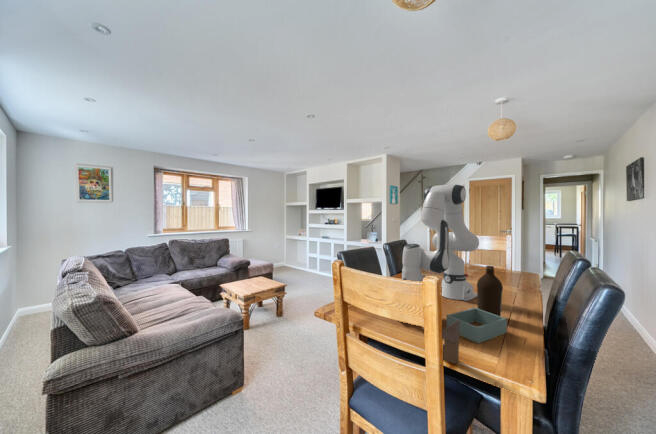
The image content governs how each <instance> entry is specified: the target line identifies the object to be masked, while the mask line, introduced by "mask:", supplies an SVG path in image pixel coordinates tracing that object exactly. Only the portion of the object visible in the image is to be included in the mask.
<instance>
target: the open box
mask: <svg viewBox="0 0 656 434" xmlns="http://www.w3.org/2000/svg"><path fill="white" fill-rule="evenodd" d="M458 320H459V336H461V337H464V338H465V339H468V340H470V341H472V342H474V343H476V344H481V343H483V342H486V341H490V340H491V339H494V338H497V337H499V336H502V335H504V334H506V333H507V332H508V331H507V329H508V325H507V324H508V318H506V317H503V316H498V315H495V314H492V313H489V312H486V311H483V310H480V309H478V307H472V308H467V309H464V310H461V311H457V312H454V313H449V314H447V315H446V327H448V326H450V325H451V324H453V323H455V322H456V321H458ZM474 322H476V323H478V324H481V325H479V326H477V325H474V324H471V323H474Z"/></svg>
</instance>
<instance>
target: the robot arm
mask: <svg viewBox="0 0 656 434" xmlns="http://www.w3.org/2000/svg"><path fill="white" fill-rule="evenodd" d="M466 198H467V191H466V188H465V187H464V186H463V185H461V184H440V185H429V186H428V187H426V188H425V189H424V191H423V205H422V208H421V212H420V220H421V222H422V223H423V225H424V226H426V227H428V229H431V230H433V231H435V233H434V234H433V236H432V244H433V246H434V247H435V248H436V250H435V251H432V250H428V249H423V248H422V247H421V245H420V244H418V243H407V244H406V245H404V247H403V250H402V258H401V259H402V261H401V262H402V269H401V279H403V280H411V281H420V282H421V281H422V279H423V277H425V276H427V275H425V274H422V270H426V271H430V272H432V273H436V274H442V277H443V278H442V279H441V286H440V287H442V295H441V296H442V297H444V298H447V299H451V300H459V301H465V302H469V301H471V300H473V299H475V298H477V292H476V293H475V292H474V286H473V285H472V283H470V282H469V281H468V280H467V278H469V276H470V275H469V274H468V273H465V261H464V260H463V258H462V257H461V256H458V255H457V254H456V252H455V251H457V252H475V251H476V250H477V249H478V248H479V245H480V241H479V240H480V239H479V238H478V237H477V235H476V234H474V233H473V232H471V231H470V229H468V227H467V226H466V224H465V220H464V213H463V211H464V210H463V205H462V204H463V203H464V202H465V201H466ZM449 230H451V232H450V231H449Z"/></svg>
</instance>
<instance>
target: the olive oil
mask: <svg viewBox="0 0 656 434" xmlns="http://www.w3.org/2000/svg"><path fill="white" fill-rule="evenodd" d="M494 268H495V266H494V265H486V268H485V274H483V275H482V276H481V277H479V279H478V280H477V283H476V291H477V292H476V294H477V297H476V298H477V308H478V309H480V310H483V311H486V312H489V313H492V314H495V315H498V316H501V313H502V303H503V301H502V300H503V289H504V287H503V284H502V281H501V280H500V279H499V278H498V276H496V275H495V269H494ZM501 317H502V316H501Z"/></svg>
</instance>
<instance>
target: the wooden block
mask: <svg viewBox="0 0 656 434" xmlns="http://www.w3.org/2000/svg"><path fill="white" fill-rule="evenodd" d="M441 331H442V338H441V339H442V340H444V342H443V343H442V344H443V359H442V360H445V361H447V362H449V363H450V364H454V365H455V364H456V363H458V361H459V355H460V354H459V353H460V349H459V348H460V347H459V346H460V345H459V344H460V341H459V340H460V335H459V320H458V321H456V322H455V323H453V324H451V325H450V326H448V327H447V326H446V327H445V328H443V329H442V330H441Z"/></svg>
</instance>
